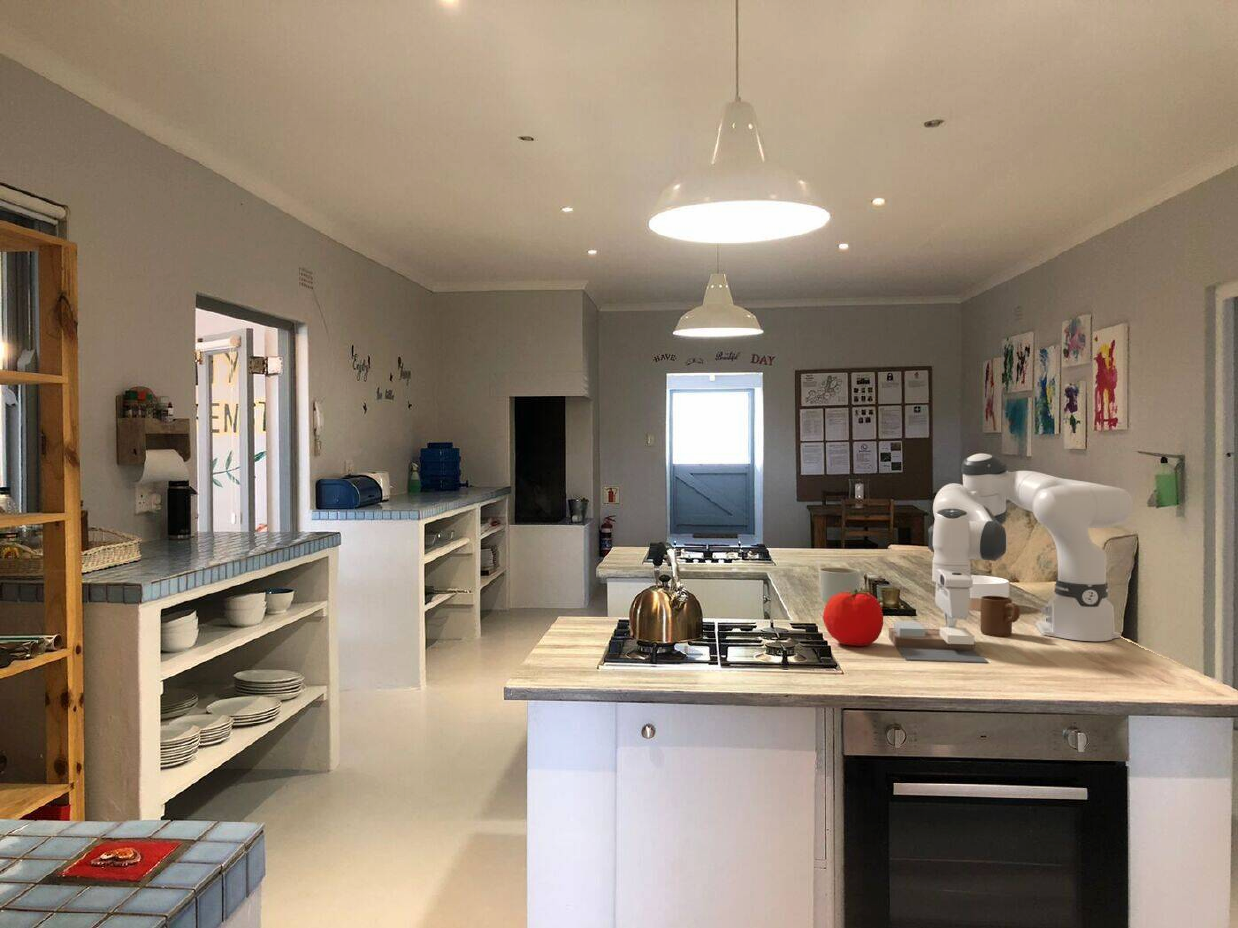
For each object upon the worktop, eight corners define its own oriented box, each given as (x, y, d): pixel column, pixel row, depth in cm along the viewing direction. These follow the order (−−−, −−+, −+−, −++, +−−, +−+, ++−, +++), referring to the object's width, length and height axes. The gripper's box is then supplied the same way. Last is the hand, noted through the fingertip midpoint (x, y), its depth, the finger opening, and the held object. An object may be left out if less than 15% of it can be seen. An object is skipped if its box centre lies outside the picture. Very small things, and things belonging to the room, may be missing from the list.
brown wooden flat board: (888, 637, 228) (888, 627, 228) (962, 639, 225) (962, 630, 225) (896, 648, 216) (897, 638, 216) (974, 650, 213) (974, 640, 213)
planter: (865, 608, 267) (865, 572, 267) (824, 609, 267) (824, 572, 267) (853, 601, 280) (854, 567, 279) (814, 601, 279) (814, 567, 279)
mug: (1030, 639, 226) (1031, 602, 226) (1005, 641, 224) (1006, 604, 224) (998, 630, 238) (998, 594, 237) (974, 631, 235) (974, 596, 235)
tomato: (895, 647, 217) (895, 591, 217) (854, 654, 210) (855, 596, 210) (847, 635, 231) (847, 582, 230) (808, 641, 223) (808, 587, 223)
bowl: (969, 612, 263) (969, 584, 262) (937, 602, 279) (937, 575, 279) (1021, 610, 266) (1021, 582, 266) (986, 600, 283) (986, 574, 283)
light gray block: (893, 628, 227) (893, 621, 227) (918, 629, 226) (918, 621, 226) (899, 636, 218) (899, 628, 218) (925, 637, 217) (925, 629, 217)
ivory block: (939, 635, 219) (939, 627, 219) (965, 635, 218) (965, 627, 218) (947, 643, 210) (947, 635, 210) (974, 644, 209) (974, 635, 209)
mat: (896, 648, 216) (896, 647, 216) (974, 650, 213) (974, 649, 213) (906, 660, 204) (906, 658, 204) (988, 663, 202) (988, 661, 202)
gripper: (929, 568, 231) (928, 621, 231) (946, 581, 210) (945, 639, 211) (954, 569, 230) (954, 622, 230) (974, 581, 209) (973, 640, 210)
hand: (950, 630), depth 220 cm, fingers closed
